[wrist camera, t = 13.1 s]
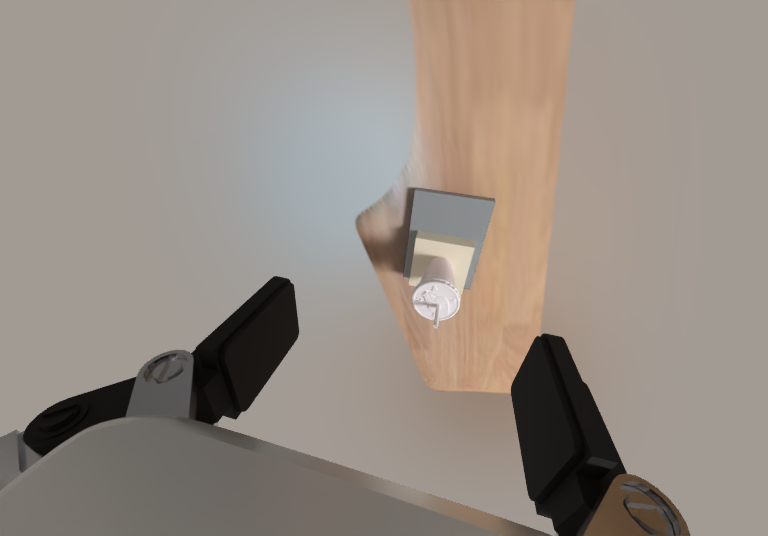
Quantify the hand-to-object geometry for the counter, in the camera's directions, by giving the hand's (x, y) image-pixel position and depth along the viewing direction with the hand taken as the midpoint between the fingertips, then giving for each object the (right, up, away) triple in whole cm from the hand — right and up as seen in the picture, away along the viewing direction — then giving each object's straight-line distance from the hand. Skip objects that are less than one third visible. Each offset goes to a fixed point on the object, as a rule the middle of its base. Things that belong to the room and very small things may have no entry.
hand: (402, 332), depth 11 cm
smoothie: (+8, +3, +34) cm, 35 cm away
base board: (+10, +7, +36) cm, 38 cm away
